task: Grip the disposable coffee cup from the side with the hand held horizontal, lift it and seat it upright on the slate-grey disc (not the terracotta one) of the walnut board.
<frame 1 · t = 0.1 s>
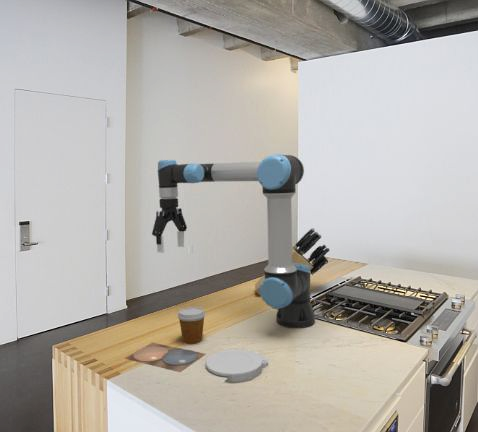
hand: (171, 249, 182), 28 cm above the worktop, tool pointing down, fingers open, 13 cm apart
slate disc: (179, 357, 139), resting on walnut board
terracotta disc: (151, 354, 142), resting on walnut board
walnut board: (165, 360, 141), on the worktop
disposable coffee cup: (192, 345, 153), on the worktop
lid: (238, 369, 134), on the worktop
knife block: (291, 293, 212), on the worktop
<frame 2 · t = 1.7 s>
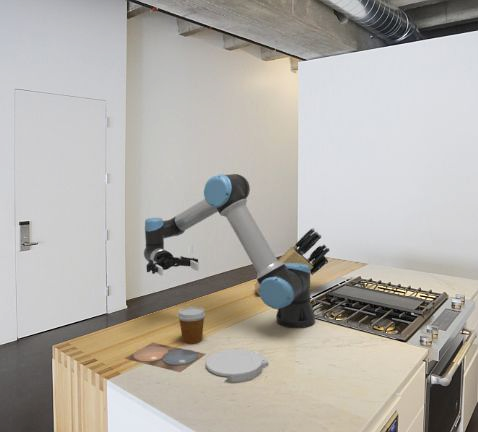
hand: (180, 269, 159), 25 cm above the worktop, tool horizontal, fingers open, 13 cm apart
nothing on the worktop moved.
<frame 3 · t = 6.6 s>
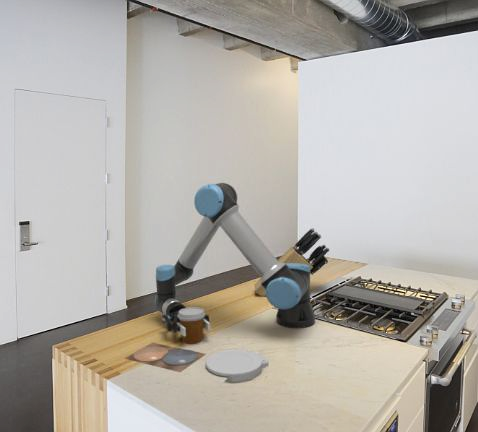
hand: (197, 329, 148), 7 cm above the worktop, tool horizontal, fingers closed on disposable coffee cup, 8 cm apart
disposable coffee cup: (192, 344, 153), on the worktop, touching gripper
everything else where it was.
when the fingers open (10 cm above the worktop, at t = 11.5 s): disposable coffee cup moves 1 cm, point 2 cm above the worktop.
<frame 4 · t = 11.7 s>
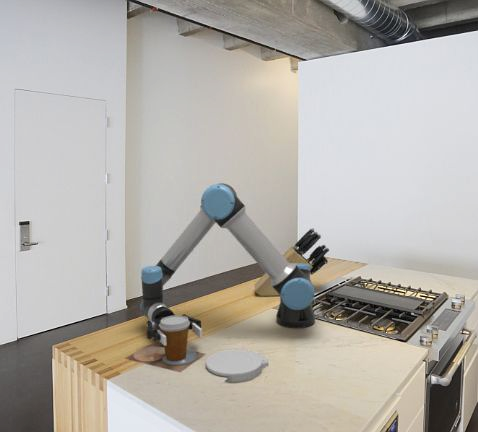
hand: (183, 337, 134), 10 cm above the worktop, tool horizontal, fingers open, 11 cm apart
disposable coffee cup: (176, 357, 139), point 2 cm above the worktop, touching gripper
everything else where it was.
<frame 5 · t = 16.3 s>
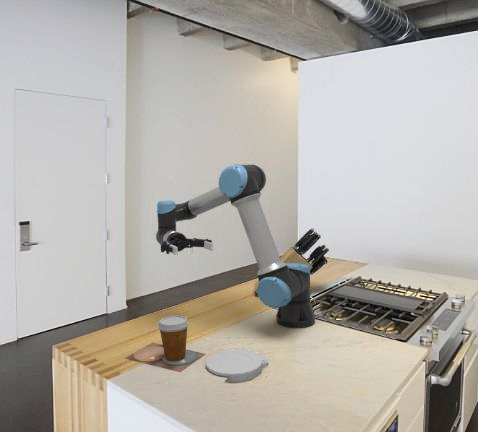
hand: (194, 249, 158), 32 cm above the worktop, tool horizontal, fingers open, 13 cm apart
disposable coffee cup: (175, 357, 139), point 2 cm above the worktop, touching slate disc
everything else where it was.
at the end: disposable coffee cup 1.4 cm from the slate disc (horizontally); disposable coffee cup tilted 0°; the gripper is holding nothing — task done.
